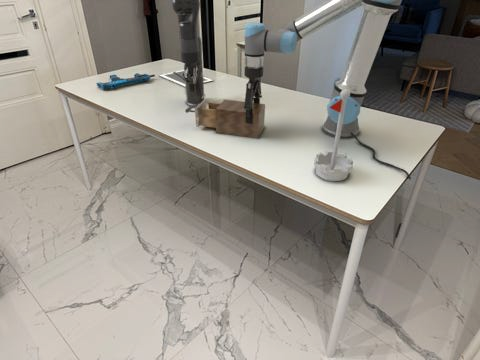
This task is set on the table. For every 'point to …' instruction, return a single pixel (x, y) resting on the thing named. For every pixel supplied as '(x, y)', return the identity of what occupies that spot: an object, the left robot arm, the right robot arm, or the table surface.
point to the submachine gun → (124, 81)
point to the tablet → (179, 80)
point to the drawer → (204, 113)
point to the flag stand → (335, 150)
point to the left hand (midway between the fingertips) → (193, 91)
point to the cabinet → (239, 119)
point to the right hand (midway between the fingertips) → (252, 117)
